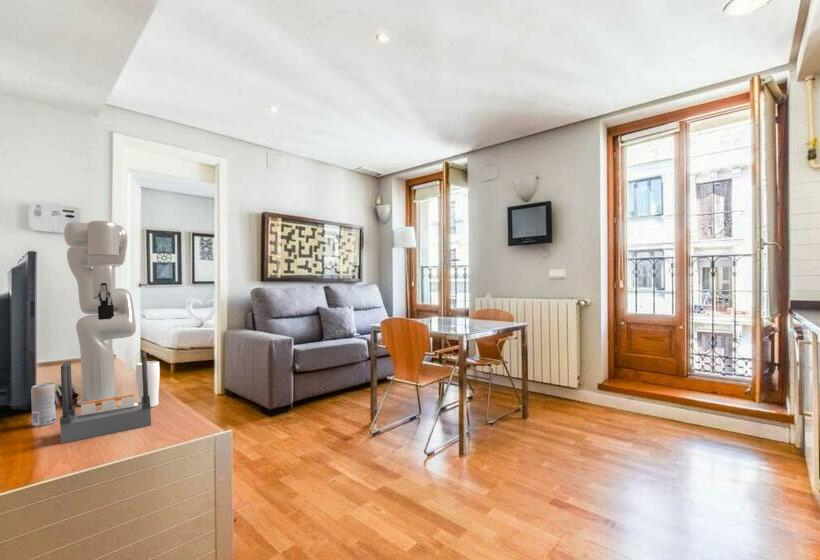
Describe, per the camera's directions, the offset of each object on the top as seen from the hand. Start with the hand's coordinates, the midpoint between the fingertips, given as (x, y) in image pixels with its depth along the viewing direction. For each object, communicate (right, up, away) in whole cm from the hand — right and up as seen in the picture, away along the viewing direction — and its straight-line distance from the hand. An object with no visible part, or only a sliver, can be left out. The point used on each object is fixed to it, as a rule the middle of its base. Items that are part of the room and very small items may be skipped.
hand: (106, 318), depth 121 cm
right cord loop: (+13, -26, -1) cm, 29 cm away
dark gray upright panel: (-2, -27, -11) cm, 29 cm away
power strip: (+6, -32, -6) cm, 33 cm away
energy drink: (-19, -33, 0) cm, 38 cm away
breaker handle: (+6, -26, -6) cm, 27 cm away
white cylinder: (+4, -32, +14) cm, 35 cm away
